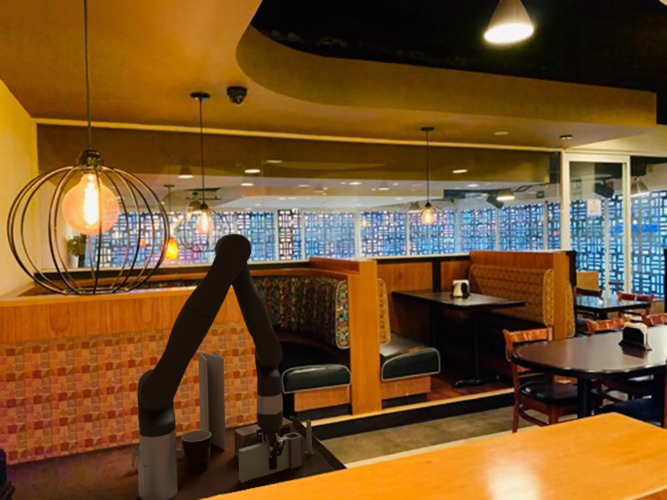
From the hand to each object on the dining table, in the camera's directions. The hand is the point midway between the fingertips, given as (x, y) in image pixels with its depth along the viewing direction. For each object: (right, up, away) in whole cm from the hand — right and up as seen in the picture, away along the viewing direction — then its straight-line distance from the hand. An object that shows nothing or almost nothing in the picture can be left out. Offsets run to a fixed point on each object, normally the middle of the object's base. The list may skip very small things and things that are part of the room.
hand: (271, 467), depth 148 cm
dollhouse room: (-4, -1, +37) cm, 37 cm away
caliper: (-33, -3, +9) cm, 34 cm away
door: (0, -2, 0) cm, 2 cm away
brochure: (-22, -2, +22) cm, 31 cm away
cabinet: (0, -1, +13) cm, 13 cm away
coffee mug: (-22, -2, +5) cm, 23 cm away
